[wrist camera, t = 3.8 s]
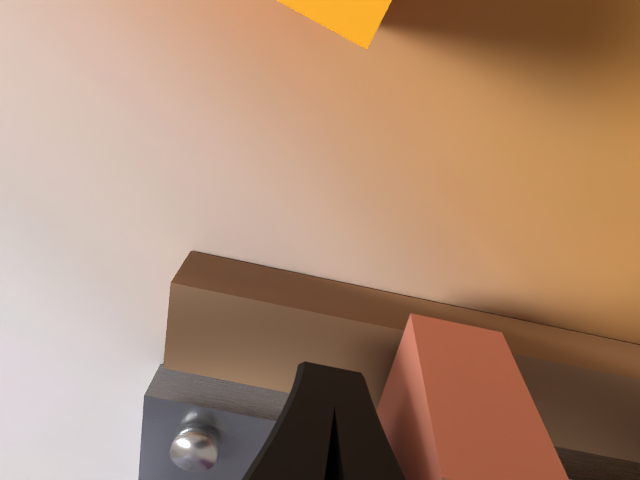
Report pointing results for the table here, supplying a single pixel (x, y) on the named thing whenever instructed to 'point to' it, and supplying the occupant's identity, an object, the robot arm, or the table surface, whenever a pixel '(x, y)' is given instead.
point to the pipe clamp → (344, 16)
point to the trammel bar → (388, 345)
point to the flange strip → (255, 431)
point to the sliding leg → (462, 408)
